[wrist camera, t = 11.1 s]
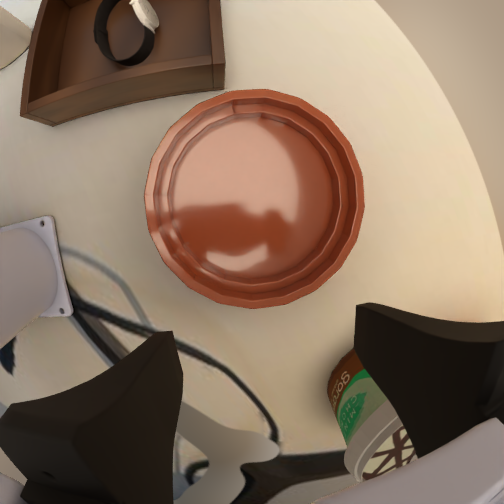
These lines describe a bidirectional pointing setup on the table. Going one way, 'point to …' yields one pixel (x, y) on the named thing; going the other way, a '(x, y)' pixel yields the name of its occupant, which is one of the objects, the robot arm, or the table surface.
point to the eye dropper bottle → (12, 37)
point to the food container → (367, 422)
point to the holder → (118, 57)
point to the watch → (145, 17)
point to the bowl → (254, 198)
